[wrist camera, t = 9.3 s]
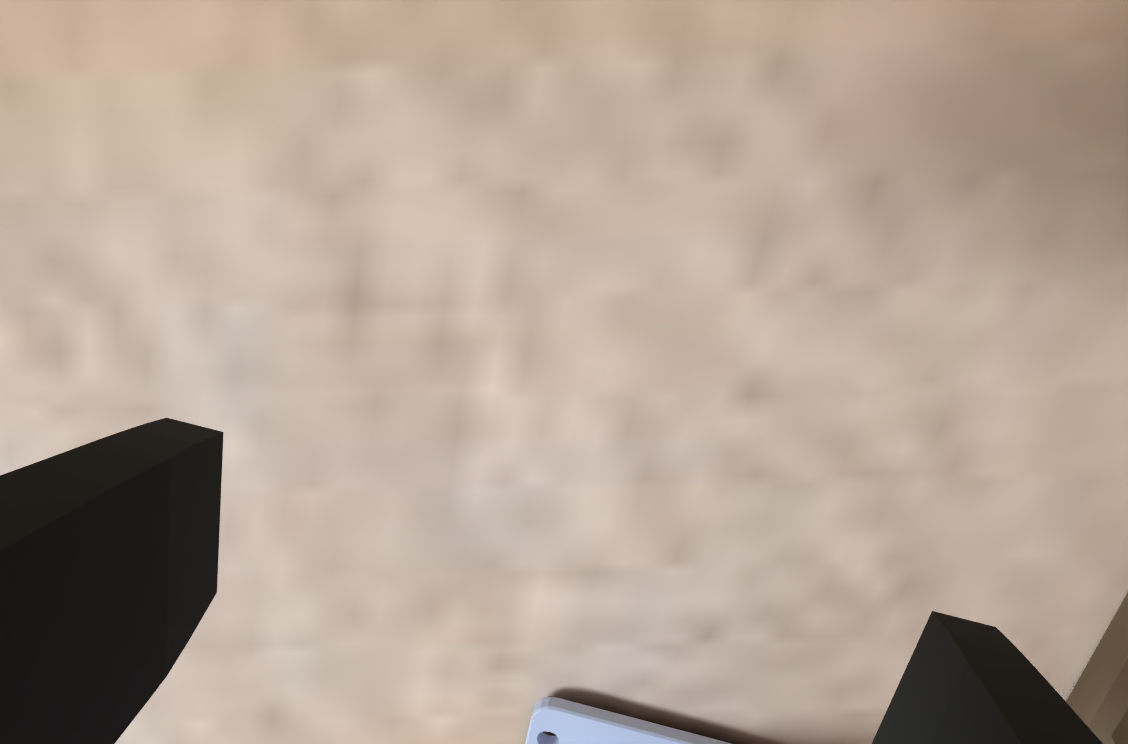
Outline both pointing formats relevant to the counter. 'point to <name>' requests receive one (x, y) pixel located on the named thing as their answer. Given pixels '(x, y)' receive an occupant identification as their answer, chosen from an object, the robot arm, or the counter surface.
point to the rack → (1106, 684)
